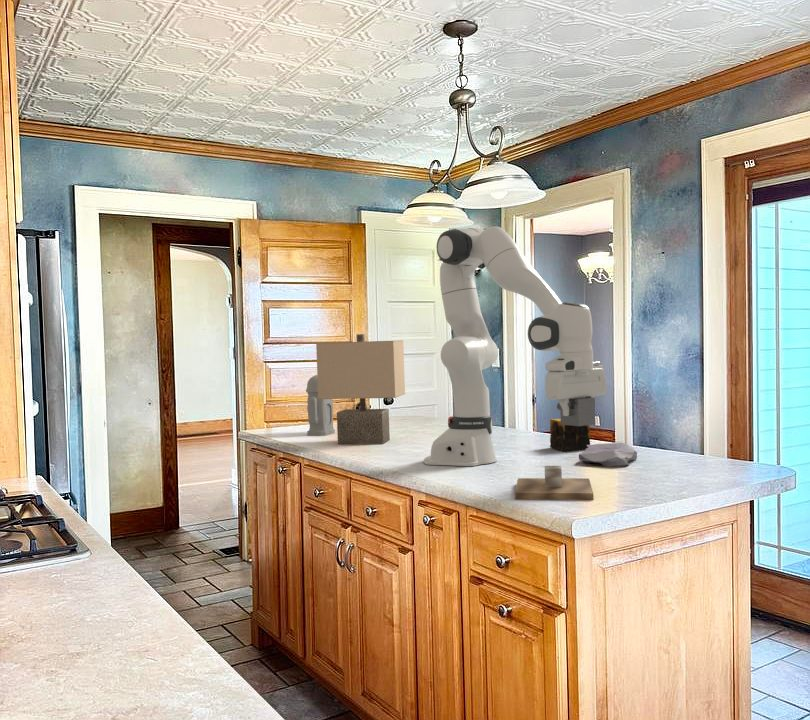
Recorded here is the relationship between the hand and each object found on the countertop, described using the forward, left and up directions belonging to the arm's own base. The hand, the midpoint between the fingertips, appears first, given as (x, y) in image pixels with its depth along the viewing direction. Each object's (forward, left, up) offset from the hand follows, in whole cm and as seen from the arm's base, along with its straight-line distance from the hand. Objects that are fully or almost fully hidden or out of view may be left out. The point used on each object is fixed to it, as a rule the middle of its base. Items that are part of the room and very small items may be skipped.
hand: (577, 414), depth 198 cm
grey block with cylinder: (-1, +1, -3) cm, 3 cm away
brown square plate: (-7, -18, -17) cm, 26 cm away
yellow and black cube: (-1, +51, -17) cm, 54 cm away
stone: (+10, +26, -18) cm, 33 cm away
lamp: (-77, +70, -17) cm, 106 cm away
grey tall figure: (-102, +95, -17) cm, 141 cm away
